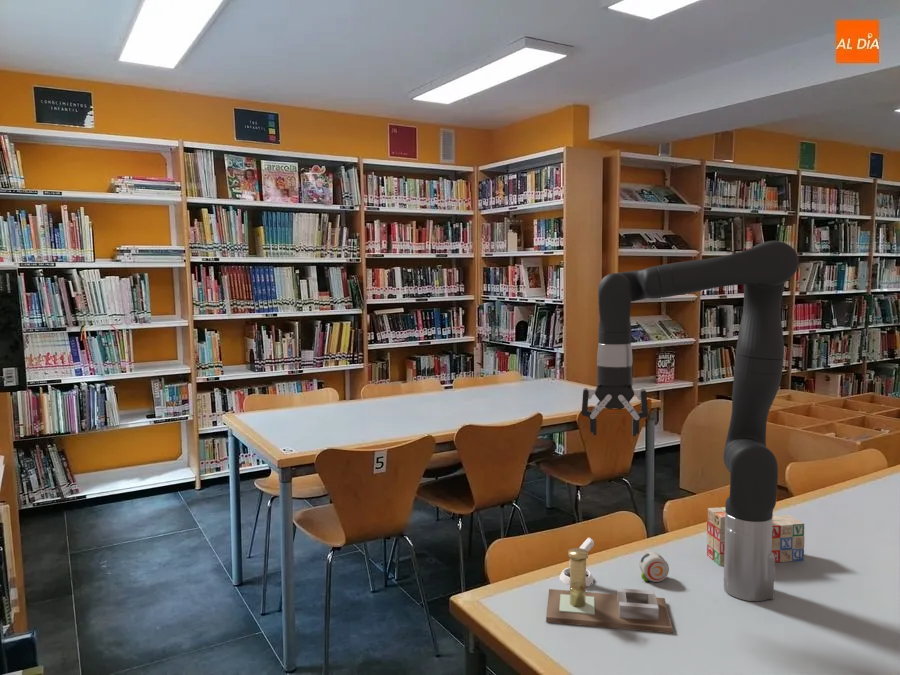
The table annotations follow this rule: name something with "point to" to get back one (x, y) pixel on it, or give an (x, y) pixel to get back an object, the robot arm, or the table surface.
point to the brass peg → (578, 576)
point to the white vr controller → (587, 546)
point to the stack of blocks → (783, 537)
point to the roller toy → (653, 567)
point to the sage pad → (568, 608)
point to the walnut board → (616, 611)
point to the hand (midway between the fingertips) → (614, 435)
